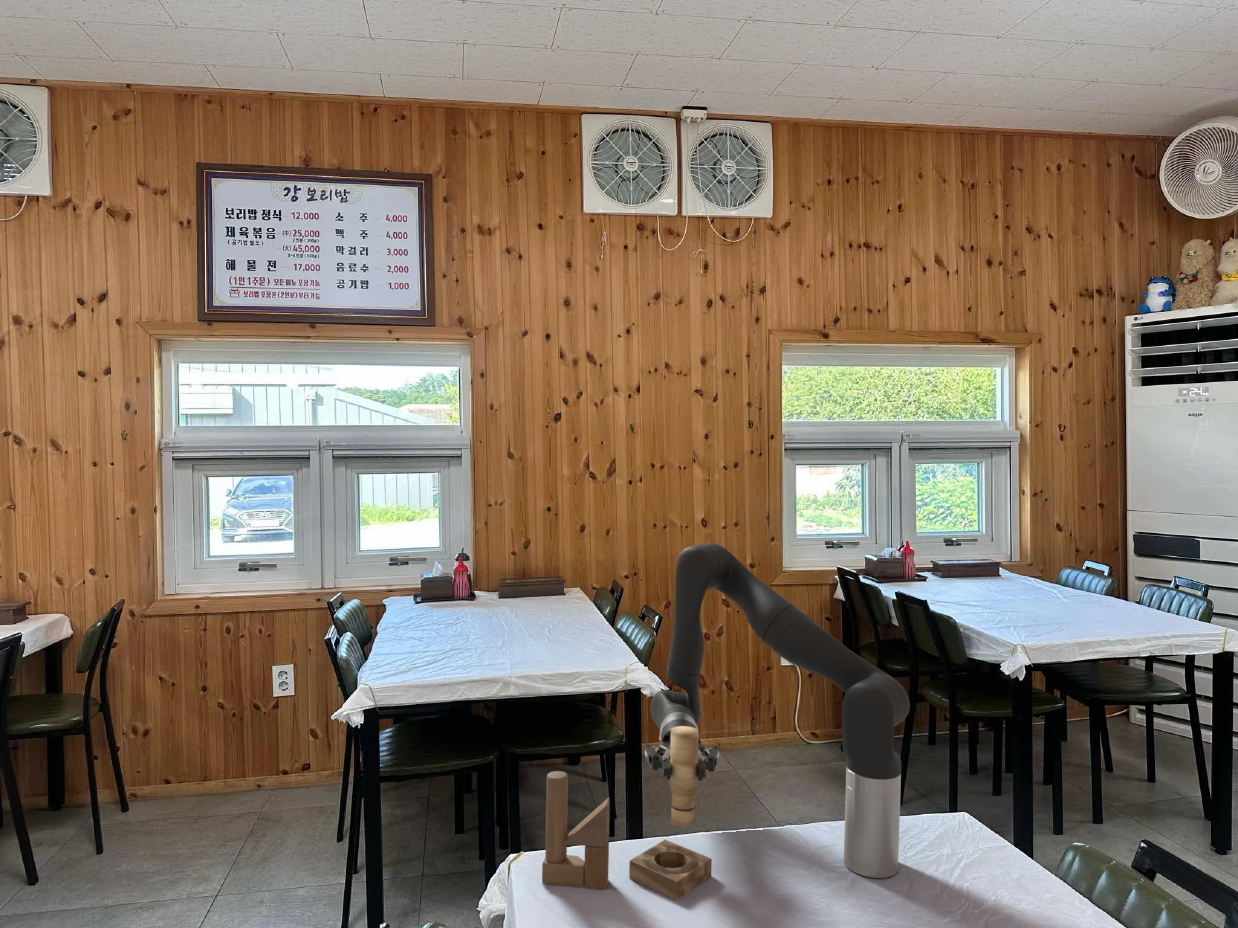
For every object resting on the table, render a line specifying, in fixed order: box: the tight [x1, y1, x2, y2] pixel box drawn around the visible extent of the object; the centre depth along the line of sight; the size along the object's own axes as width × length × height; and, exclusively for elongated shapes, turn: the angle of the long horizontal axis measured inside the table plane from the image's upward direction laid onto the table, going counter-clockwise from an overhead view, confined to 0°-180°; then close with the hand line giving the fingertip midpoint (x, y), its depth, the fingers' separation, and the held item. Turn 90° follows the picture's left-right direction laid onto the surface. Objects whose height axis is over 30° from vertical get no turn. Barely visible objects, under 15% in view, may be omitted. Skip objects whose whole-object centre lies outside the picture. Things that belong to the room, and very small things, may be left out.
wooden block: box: [541, 770, 611, 890], centre depth 138 cm, size 4×11×18 cm, turn 81°
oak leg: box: [669, 726, 700, 828], centre depth 142 cm, size 5×5×16 cm
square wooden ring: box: [628, 839, 713, 901], centre depth 140 cm, size 10×10×3 cm
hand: (684, 774), depth 140 cm, fingers closed on oak leg, 4 cm apart
